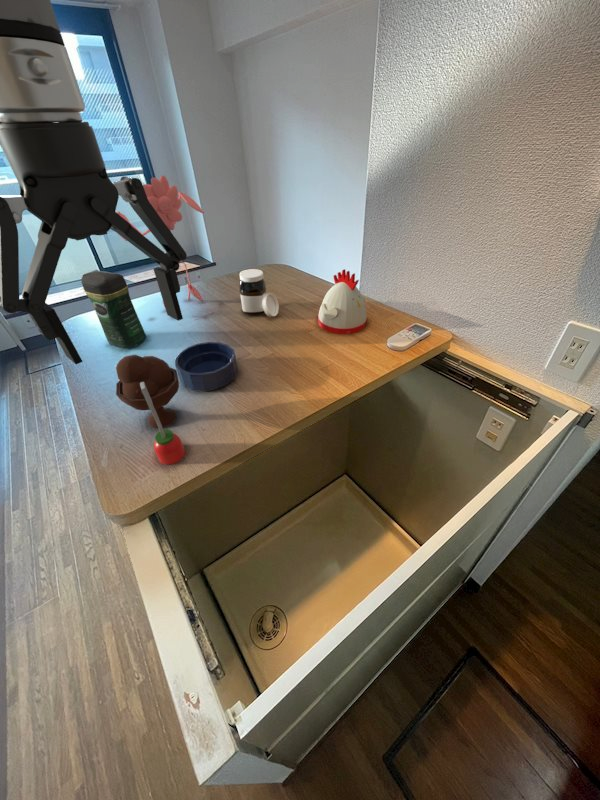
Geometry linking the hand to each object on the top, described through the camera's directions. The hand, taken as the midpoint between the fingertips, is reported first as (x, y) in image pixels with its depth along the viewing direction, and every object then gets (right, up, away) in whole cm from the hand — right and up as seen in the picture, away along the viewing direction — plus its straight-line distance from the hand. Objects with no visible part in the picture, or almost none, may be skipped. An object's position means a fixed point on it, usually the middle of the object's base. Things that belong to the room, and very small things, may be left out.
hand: (129, 336), depth 42 cm
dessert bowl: (+1, -2, +35) cm, 35 cm away
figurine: (-12, +20, +60) cm, 65 cm away
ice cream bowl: (-6, -12, +24) cm, 28 cm away
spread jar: (+10, +19, +59) cm, 63 cm away
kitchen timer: (+34, +14, +54) cm, 65 cm away
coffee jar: (-25, +8, +47) cm, 54 cm away
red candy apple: (-1, -18, +17) cm, 25 cm away
